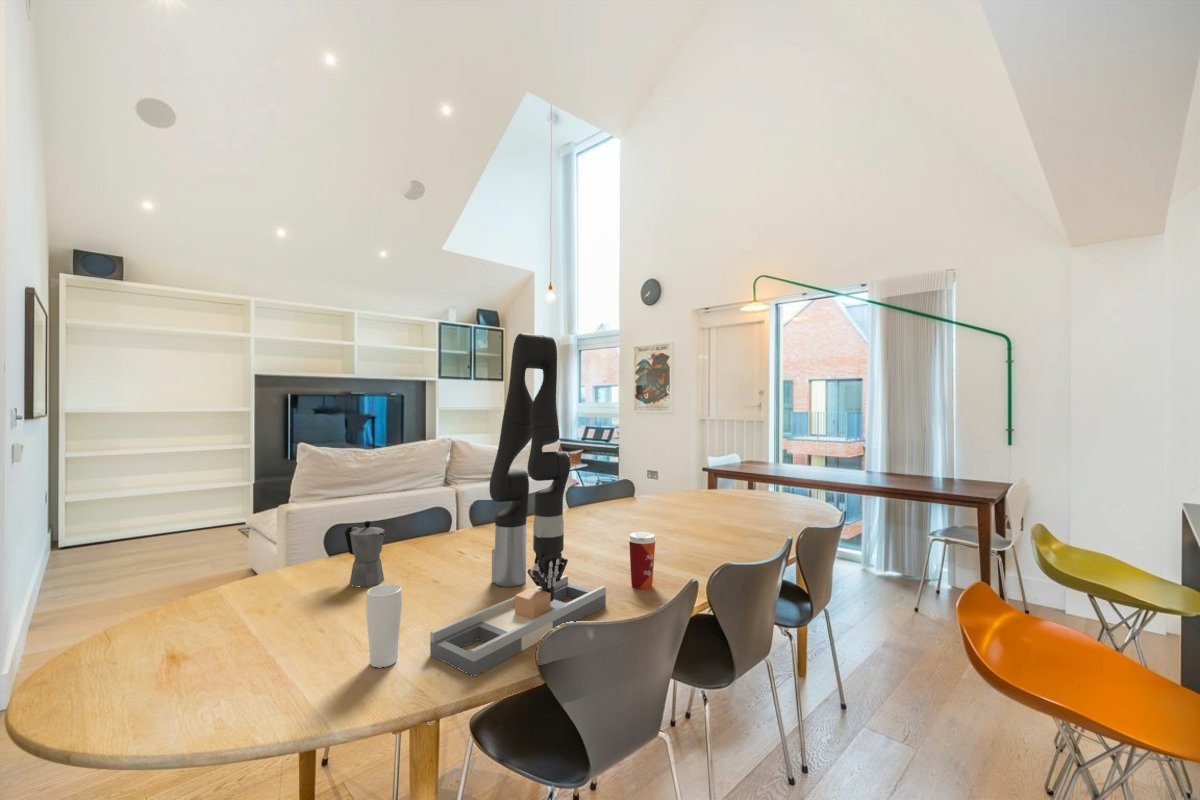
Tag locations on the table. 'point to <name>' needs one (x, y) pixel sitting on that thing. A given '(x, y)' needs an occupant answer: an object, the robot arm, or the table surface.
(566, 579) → the track
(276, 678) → the table surface
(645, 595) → the table surface
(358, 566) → the coffeepot
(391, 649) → the drinking glass
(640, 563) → the coffee cup
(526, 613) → the block
